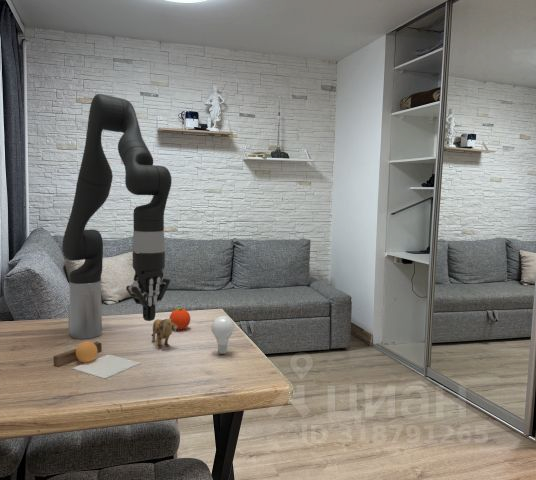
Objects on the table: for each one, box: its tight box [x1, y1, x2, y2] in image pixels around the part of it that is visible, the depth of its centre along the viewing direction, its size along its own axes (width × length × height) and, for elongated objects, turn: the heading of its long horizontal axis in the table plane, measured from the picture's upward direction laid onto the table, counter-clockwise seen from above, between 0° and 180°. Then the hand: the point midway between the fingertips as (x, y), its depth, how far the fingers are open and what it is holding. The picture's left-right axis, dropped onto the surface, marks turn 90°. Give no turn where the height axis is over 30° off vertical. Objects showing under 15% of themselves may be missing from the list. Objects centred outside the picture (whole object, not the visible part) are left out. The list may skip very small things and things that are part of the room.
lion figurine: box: [151, 318, 178, 349], centre depth 143 cm, size 15×5×9 cm, turn 36°
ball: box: [75, 341, 98, 364], centre depth 127 cm, size 6×6×6 cm
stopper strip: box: [53, 341, 102, 368], centre depth 129 cm, size 2×14×2 cm, turn 150°
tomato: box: [168, 307, 191, 331], centre depth 158 cm, size 8×7×7 cm
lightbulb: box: [211, 315, 235, 355], centre depth 135 cm, size 6×6×11 cm
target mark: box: [71, 354, 141, 380], centre depth 124 cm, size 12×12×1 cm
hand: (149, 320), depth 115 cm, fingers closed
